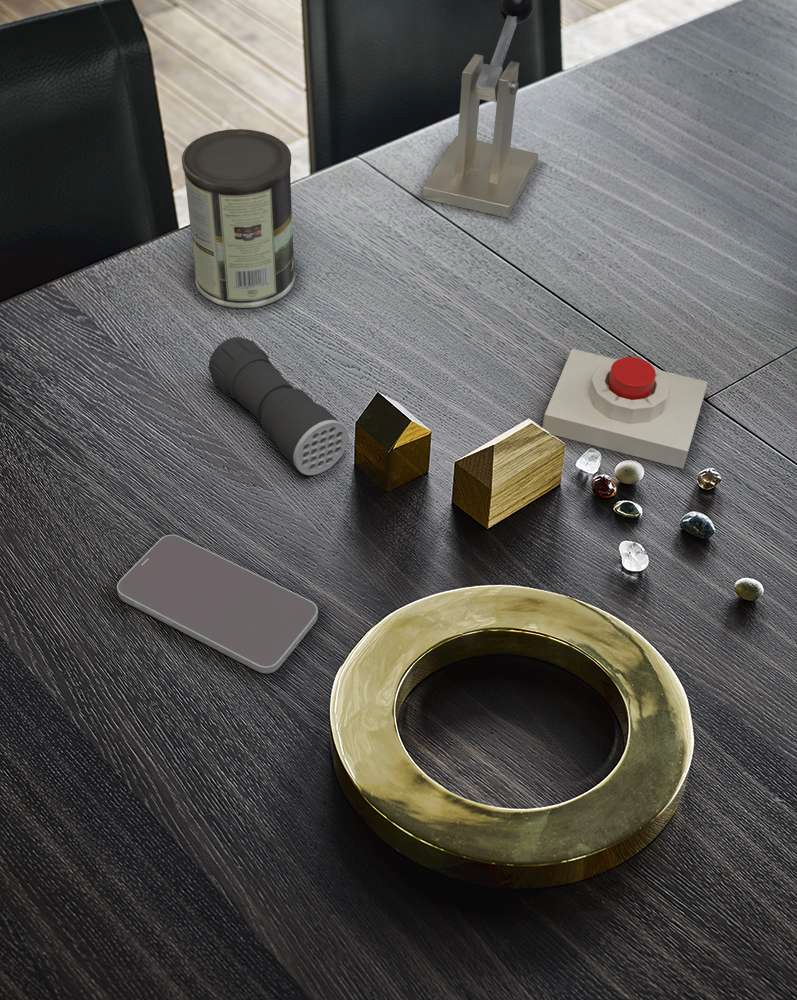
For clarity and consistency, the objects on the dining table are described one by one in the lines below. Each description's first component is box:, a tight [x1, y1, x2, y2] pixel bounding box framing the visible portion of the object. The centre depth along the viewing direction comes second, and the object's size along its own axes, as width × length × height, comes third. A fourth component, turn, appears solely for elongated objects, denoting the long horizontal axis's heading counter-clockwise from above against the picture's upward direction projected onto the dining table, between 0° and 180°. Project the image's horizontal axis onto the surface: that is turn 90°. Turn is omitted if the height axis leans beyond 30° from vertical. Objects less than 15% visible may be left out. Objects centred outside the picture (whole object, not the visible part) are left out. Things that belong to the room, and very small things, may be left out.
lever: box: [476, 0, 535, 103], centre depth 135 cm, size 13×4×4 cm, turn 160°
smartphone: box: [116, 534, 319, 674], centre depth 98 cm, size 7×1×15 cm
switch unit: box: [422, 53, 539, 219], centre depth 138 cm, size 12×10×14 cm
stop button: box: [608, 356, 656, 400], centre depth 112 cm, size 4×4×2 cm
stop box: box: [542, 348, 709, 470], centre depth 114 cm, size 13×10×4 cm
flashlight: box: [208, 336, 349, 476], centre depth 111 cm, size 15×5×5 cm, turn 37°
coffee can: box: [181, 128, 296, 309], centre depth 123 cm, size 10×10×14 cm
